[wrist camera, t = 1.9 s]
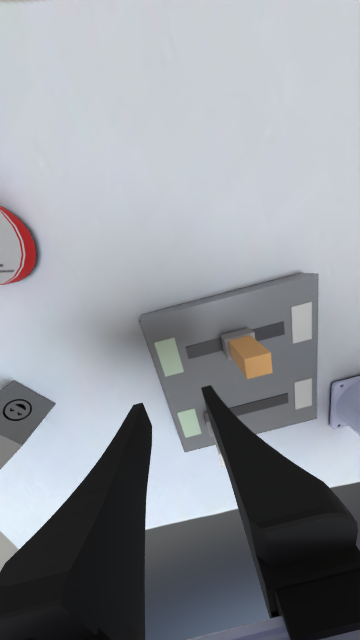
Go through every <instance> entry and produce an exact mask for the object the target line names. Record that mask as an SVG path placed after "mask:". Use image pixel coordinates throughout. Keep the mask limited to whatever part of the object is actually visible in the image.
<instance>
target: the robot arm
mask: <svg viewBox="0 0 360 640" xmlns="http://www.w3.org/2000/svg"><path fill="white" fill-rule="evenodd" d="M201 389H202V393H203V397H204V401H205V405H206V409H207V413H208V416H209V420H210V424H211V427H212V430H213V433H214V436H215V438H216V441H217V444H218V447H219V449H220V452H221V455H222V458H223V460H224V463H225V466H226V468H227V471H228V475H229V478H230V481H231V484H232V488H233V491H234V495H235V498H236V502H237V505H238V509H239V512H240V516H241V519H242V522H243V526H244V529H245V533H246V536H247V540H248V543H249V547H250V550H251V554H252V557H253V561H254V564H255V568H256V571H257V575H258V578H259V582H260V585H261V589H262V592H263V596H264V599H265V603H266V606H267V610H268V613H269V616H270V619H267V620H263V621H259V622H255V623H251V624H247V625H243V626H239V627H235V628H231V629H227V630H223V631H219V632H215V633H211V634H207V635H203V636H199V637H195V638H191V639H187V640H360V550H359V549H358V548H357V546H356V539H357V532H358V528H357V522H356V521H355V519H354V518H353V516H352V515H351V513H350V512H349V510H348V509H347V508H346V507H345V506H344V504H343V503H342V502H341V501H340V500H339V498H338V497H337V496H336V495H335V494H334V493H333V492H332V490H331V489H330V488H329V487H328V486H327V485H326V484H325V483H324V482H323V481H321V480H320V479H318V478H316V477H315V476H313V475H311V474H310V473H308V472H307V471H305V470H304V469H302V468H301V467H299V466H297V465H296V464H294V463H293V462H292V461H290V460H289V459H287V458H286V457H284V456H283V455H282V454H280V453H279V452H278V451H276V450H275V449H274V448H272V447H271V446H270V445H268V444H267V443H266V442H264V441H263V440H262V439H261V438H259V437H258V436H257V435H256V434H255V433H254V432H252V431H251V430H250V429H249V428H248V427H247V426H246V425H245V424H244V423H243V422H241V421H240V420H239V419H238V418H237V417H236V416H235V415H234V413H233V412H232V411H231V410H230V409H229V408H228V407H227V406H226V405H225V403H224V402H223V401H222V400H221V399H220V397H219V396H218V395H217V393H216V392H215V390H214V389H213V387H212V386H211V385H209V386H205V387H201ZM330 426H331V427H332V428H333V429H337V428H341V427H345V426H350V427H351V428H352V429H353V430H354V431H355V432H356V433H357V434H359V435H360V376H357V377H353V378H349V379H346V380H342V381H338V382H334V383H333V384H332V392H331V414H330ZM151 447H152V425H151V422H150V420H149V417H148V415H147V412H146V410H145V408H144V405H143V403H139V404H136V405H133V407H132V408H131V410H130V412H129V413H128V415H127V417H126V418H125V420H124V422H123V424H122V425H121V427H120V429H119V430H118V432H117V433H116V435H115V437H114V438H113V440H112V441H111V443H110V444H109V446H108V447H107V449H106V450H105V452H104V453H103V455H102V456H101V458H100V459H99V461H98V462H97V463H96V465H95V466H94V467H93V469H92V470H91V471H90V473H89V474H88V475H87V476H86V478H85V479H84V480H83V481H82V483H81V484H80V485H79V486H78V487H77V488H76V490H75V491H74V492H73V493H72V494H71V496H70V497H69V498H68V499H67V500H66V501H65V503H64V504H63V505H62V506H61V507H60V508H59V509H58V510H57V511H56V513H55V514H54V515H53V516H52V517H51V518H50V519H49V520H48V521H47V522H46V523H45V524H44V525H43V526H42V527H41V528H40V529H39V530H38V531H37V533H36V534H35V535H34V536H32V537H31V538H30V539H29V540H28V541H27V542H26V543H25V544H24V545H23V546H22V547H21V548H20V549H19V550H18V551H17V552H16V553H15V554H14V555H13V556H12V557H11V558H10V559H9V560H8V561H7V562H6V563H5V565H4V566H3V568H2V570H1V572H0V640H145V594H144V593H145V590H144V576H145V575H144V574H145V573H144V572H145V569H144V568H145V567H144V566H145V558H144V557H145V553H144V552H145V514H146V493H147V483H148V474H149V465H150V456H151Z"/></svg>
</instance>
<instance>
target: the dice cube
mask: <svg viewBox="0 0 360 640" xmlns="http://www.w3.org/2000/svg"><path fill="white" fill-rule="evenodd" d="M55 404H56V403H54V402H52V401H51V400H49V399H47V398H45V397H43V396H42V395H40V394H38V393H36V392H35V391H33V390H31V389H29V388H28V387H26V386H24V385H22V384H20V383H19V382H17V381H15V380H14V381H13V382H12V383H11V384H9V385H8V386H7V387H5V388H4V389H3V390H1V391H0V469H1V468H2V467H3V466H4V465H5V464H6V463H7V462H8V461H9V460H10V458H11V457H12V456H13V455H14V454H15V453H16V452H17V451H18V450H19V449H20V448H21V447H22V445H23V444H24V443H25V442H26V440H27V439H28V438H29V437H30V435H31V434H32V433H33V432H34V430H35V429H36V428H37V427H38V425H39V424H40V423H41V422H42V420H43V419H44V418H45V417H46V415H47V414H48V413H49V412H50V410H51V409H52V408H53V407H54V405H55Z"/></svg>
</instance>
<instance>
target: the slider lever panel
mask: <svg viewBox="0 0 360 640" xmlns="http://www.w3.org/2000/svg"><path fill="white" fill-rule="evenodd" d="M139 322H140V325H141V328H142V331H143V334H144V337H145V339H146V342H147V345H148V348H149V351H150V354H151V357H152V360H153V363H154V365H155V368H156V371H157V374H158V377H159V380H160V383H161V386H162V389H163V391H164V394H165V397H166V400H167V403H168V406H169V409H170V412H171V415H172V418H173V420H174V423H175V426H176V429H177V432H178V435H179V438H180V441H181V444H182V446H183V449H184V452H188V451H192V450H196V449H200V448H204V447H208V446H212V445H216V443H215V439H214V436H211V437H210V435H209V431H208V427H207V423H206V420H205V416H204V413H207V409H206V405H205V401H204V397H203V393H202V389H201V387H205V386H209V385H211V386H212V387H213V389H214V390H215V392H216V393H217V395H218V396H219V397H220V399H221V400H222V401H223V402H224V403H225V405H226V406H227V407H228V408H229V409H230V410H231V411H232V412H233V413H234V415H235V416H236V417H237V418H238V419H239V420H240V421H241V422H243V423H244V424H245V425H246V426H247V427H248V428H249V429H250V430H251V431H252V432H254V433H255V434H258V433H262V432H266V431H270V430H274V429H278V428H282V427H286V426H290V425H294V424H297V423H301V422H305V421H309V420H313V419H317V344H318V274H314V273H299V274H295V275H292V276H288V277H284V278H280V279H276V280H272V281H269V282H265V283H261V284H257V285H253V286H250V287H246V288H242V289H238V290H234V291H230V292H227V293H223V294H219V295H215V296H211V297H208V298H204V299H200V300H196V301H192V302H188V303H185V304H181V305H177V306H173V307H169V308H166V309H162V310H158V311H154V312H150V313H146V314H143V315H142V316H141V318H140V320H139ZM245 328H250V329H251V330H252V331H253V332H255V340H257V341H258V342H259V343H260V344H261V345H263V346H264V347H265V348H266V349H267V350H268V351H270V352H271V360H272V372H273V373H270V374H266V375H262V376H258V377H254V378H250V379H247V378H246V377H245V376H244V374H243V373H242V371H241V370H240V368H239V367H238V366H237V364H236V363H235V361H234V360H233V359H232V360H229V361H228V360H227V358H226V356H225V355H224V351H223V346H222V340H221V335H222V334H226V333H230V332H234V331H237V330H241V329H245Z"/></svg>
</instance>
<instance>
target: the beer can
mask: <svg viewBox="0 0 360 640" xmlns="http://www.w3.org/2000/svg"><path fill="white" fill-rule="evenodd" d="M35 260H36V249H35V243H34V241H33V238H32V236H31V234H30V232H29V230H28V229H27V228H26V226H25V225H24V224H23V223H22V222H21V220H20V219H19V218H17V217H16V216H15V215H13V214H12V213H11V212H9V211H8V210H7V209H5V208H3V207H1V206H0V285H4V284H9V283H13V282H18V281H20V280H22V279H23V278H25V277H26V276H28V275H29V274H30V272H31V271H32V269H33V267H34V266H35Z"/></svg>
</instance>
